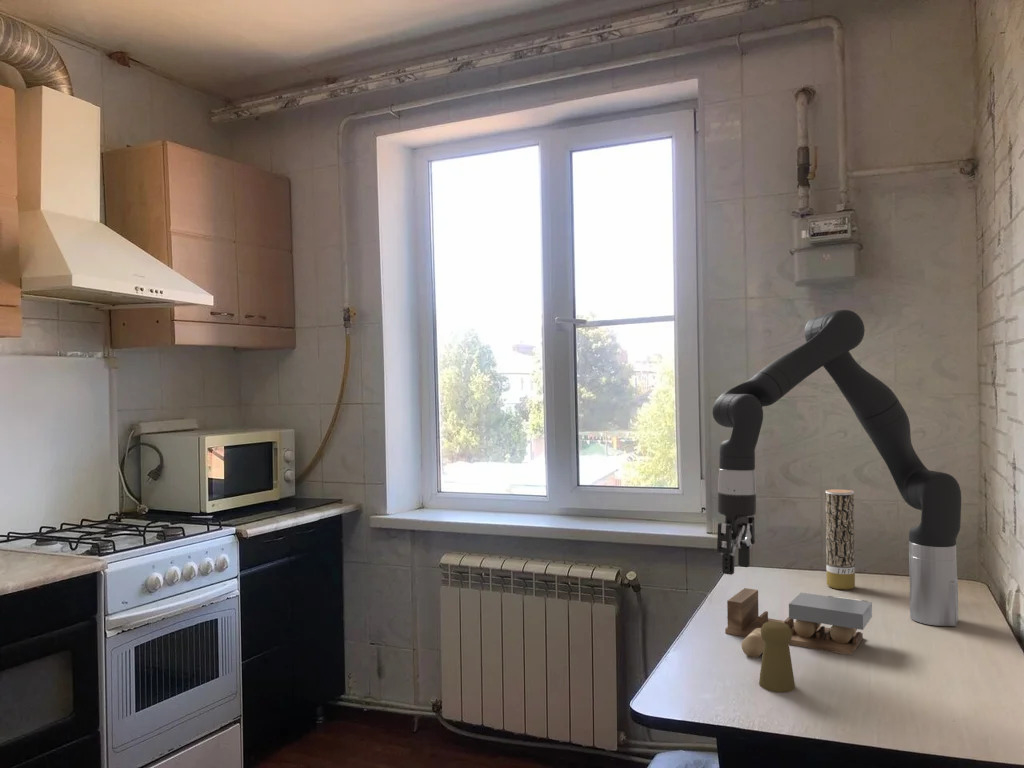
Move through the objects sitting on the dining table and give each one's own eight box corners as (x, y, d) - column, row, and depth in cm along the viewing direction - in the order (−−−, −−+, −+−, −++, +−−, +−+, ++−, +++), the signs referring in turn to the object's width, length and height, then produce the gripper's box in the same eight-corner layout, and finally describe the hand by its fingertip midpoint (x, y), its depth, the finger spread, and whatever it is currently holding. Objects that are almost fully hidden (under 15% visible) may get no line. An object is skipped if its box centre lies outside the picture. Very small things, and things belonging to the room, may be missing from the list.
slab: (872, 616, 157) (871, 602, 157) (863, 629, 148) (862, 614, 148) (801, 606, 164) (801, 592, 164) (789, 618, 156) (788, 603, 156)
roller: (771, 649, 153) (771, 629, 153) (762, 659, 147) (762, 639, 147) (751, 646, 155) (751, 626, 155) (741, 655, 149) (741, 635, 149)
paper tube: (820, 585, 200) (819, 490, 200) (839, 582, 203) (838, 488, 203) (842, 591, 194) (840, 493, 194) (861, 588, 197) (859, 491, 197)
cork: (766, 676, 138) (765, 615, 138) (800, 684, 135) (799, 622, 135) (753, 686, 134) (752, 624, 134) (788, 695, 130) (787, 630, 130)
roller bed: (864, 638, 158) (863, 604, 158) (853, 655, 148) (852, 619, 148) (743, 618, 173) (742, 587, 173) (725, 633, 163) (725, 600, 163)
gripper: (741, 496, 148) (741, 579, 148) (767, 489, 160) (766, 566, 159) (705, 492, 153) (704, 573, 153) (732, 486, 164) (731, 561, 164)
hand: (736, 570), depth 156 cm, fingers open, 8 cm apart
